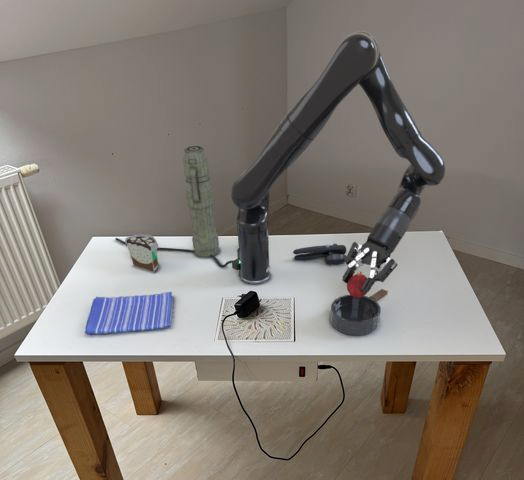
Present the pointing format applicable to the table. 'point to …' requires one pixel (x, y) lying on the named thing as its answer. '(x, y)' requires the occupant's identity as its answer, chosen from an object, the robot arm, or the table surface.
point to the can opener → (323, 253)
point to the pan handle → (379, 295)
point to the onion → (356, 285)
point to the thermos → (200, 202)
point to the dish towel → (130, 313)
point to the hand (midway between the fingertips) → (353, 286)
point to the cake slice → (143, 251)
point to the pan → (355, 315)
